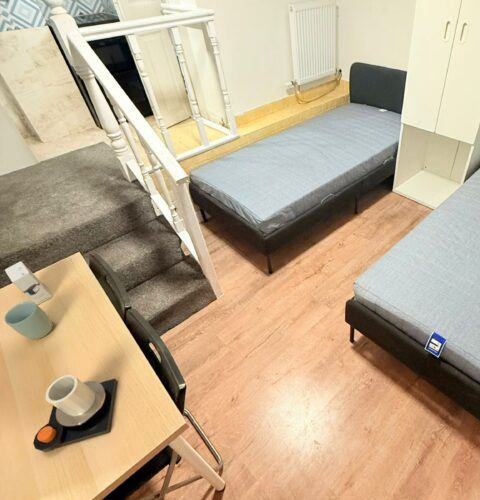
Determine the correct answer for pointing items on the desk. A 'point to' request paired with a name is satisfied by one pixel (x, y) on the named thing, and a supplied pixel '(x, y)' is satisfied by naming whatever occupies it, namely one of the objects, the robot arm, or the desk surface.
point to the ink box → (28, 283)
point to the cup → (29, 320)
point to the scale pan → (80, 419)
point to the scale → (85, 431)
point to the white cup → (70, 395)
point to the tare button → (46, 434)
